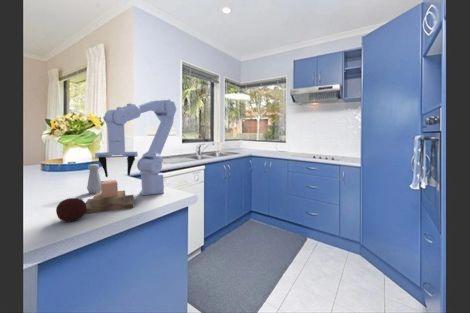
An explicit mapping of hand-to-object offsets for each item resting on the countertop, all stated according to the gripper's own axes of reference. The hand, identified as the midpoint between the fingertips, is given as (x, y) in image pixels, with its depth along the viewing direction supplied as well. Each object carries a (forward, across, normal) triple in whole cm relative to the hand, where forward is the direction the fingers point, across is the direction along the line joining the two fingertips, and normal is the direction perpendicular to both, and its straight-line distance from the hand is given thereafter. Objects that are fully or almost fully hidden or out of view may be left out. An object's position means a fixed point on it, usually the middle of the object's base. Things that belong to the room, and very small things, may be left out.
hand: (117, 175), depth 87 cm
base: (+10, +3, +4) cm, 11 cm away
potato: (+11, +14, +14) cm, 22 cm away
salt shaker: (+11, +8, -19) cm, 24 cm away
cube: (+6, +3, +3) cm, 8 cm away
